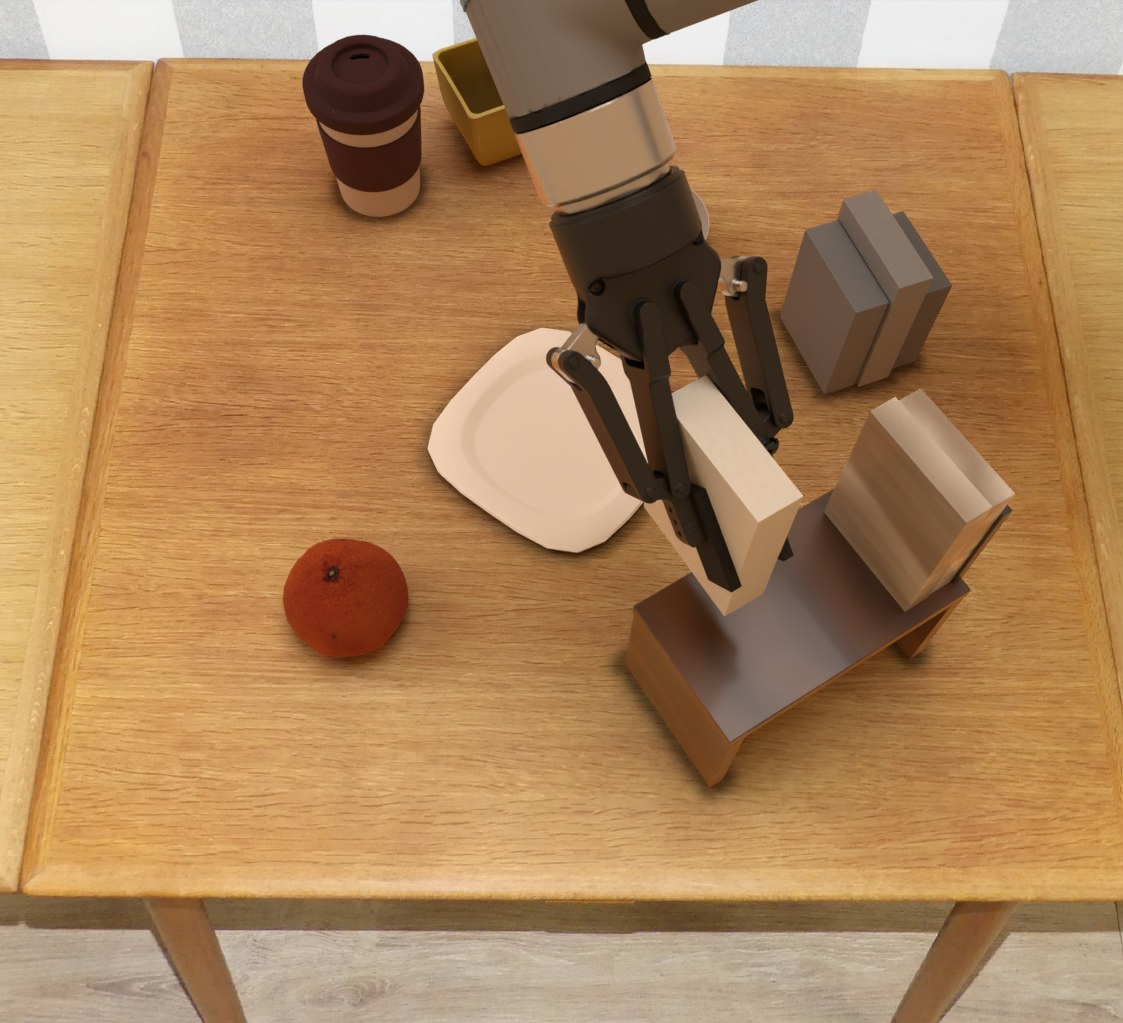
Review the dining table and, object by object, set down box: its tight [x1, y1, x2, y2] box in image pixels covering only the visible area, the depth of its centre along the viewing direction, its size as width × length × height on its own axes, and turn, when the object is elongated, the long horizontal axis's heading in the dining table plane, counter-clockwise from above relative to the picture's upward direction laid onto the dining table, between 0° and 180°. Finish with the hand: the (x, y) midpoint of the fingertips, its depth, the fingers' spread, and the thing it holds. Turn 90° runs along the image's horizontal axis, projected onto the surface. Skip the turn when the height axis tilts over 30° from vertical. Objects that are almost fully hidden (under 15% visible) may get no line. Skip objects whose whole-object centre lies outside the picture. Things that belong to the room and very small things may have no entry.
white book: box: [643, 375, 804, 616], centre depth 72 cm, size 9×3×13 cm, turn 32°
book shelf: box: [624, 388, 1016, 788], centre depth 81 cm, size 20×11×25 cm, turn 122°
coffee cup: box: [301, 34, 425, 218], centre depth 106 cm, size 10×10×15 cm
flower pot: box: [431, 37, 522, 167], centre depth 111 cm, size 9×9×9 cm
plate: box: [426, 327, 648, 554], centre depth 100 cm, size 18×18×2 cm
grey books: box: [779, 189, 953, 395], centre depth 99 cm, size 9×9×14 cm
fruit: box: [282, 537, 409, 658], centre depth 90 cm, size 9×9×8 cm
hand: (750, 567), depth 72 cm, fingers closed on white book, 3 cm apart
